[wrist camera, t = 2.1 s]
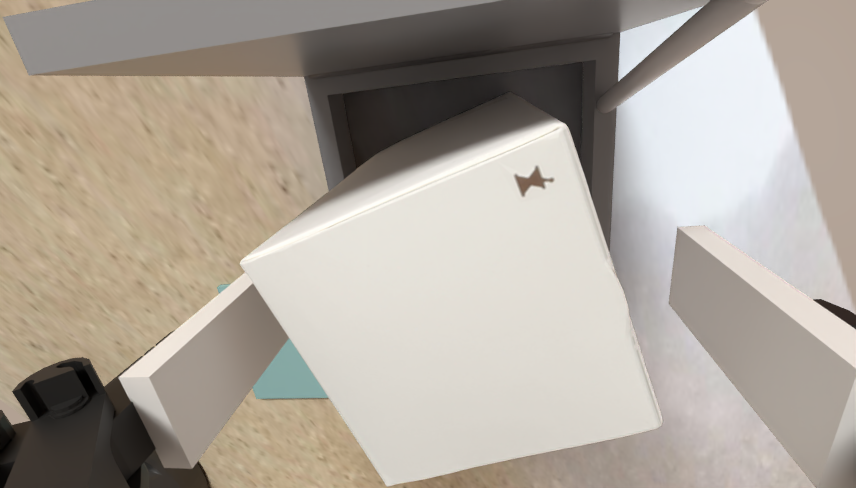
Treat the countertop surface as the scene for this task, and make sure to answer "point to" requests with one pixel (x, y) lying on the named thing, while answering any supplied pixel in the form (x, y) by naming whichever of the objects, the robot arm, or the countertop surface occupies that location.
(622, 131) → the countertop surface
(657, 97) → the countertop surface
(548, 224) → the supplement box
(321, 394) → the mat
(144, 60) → the case
